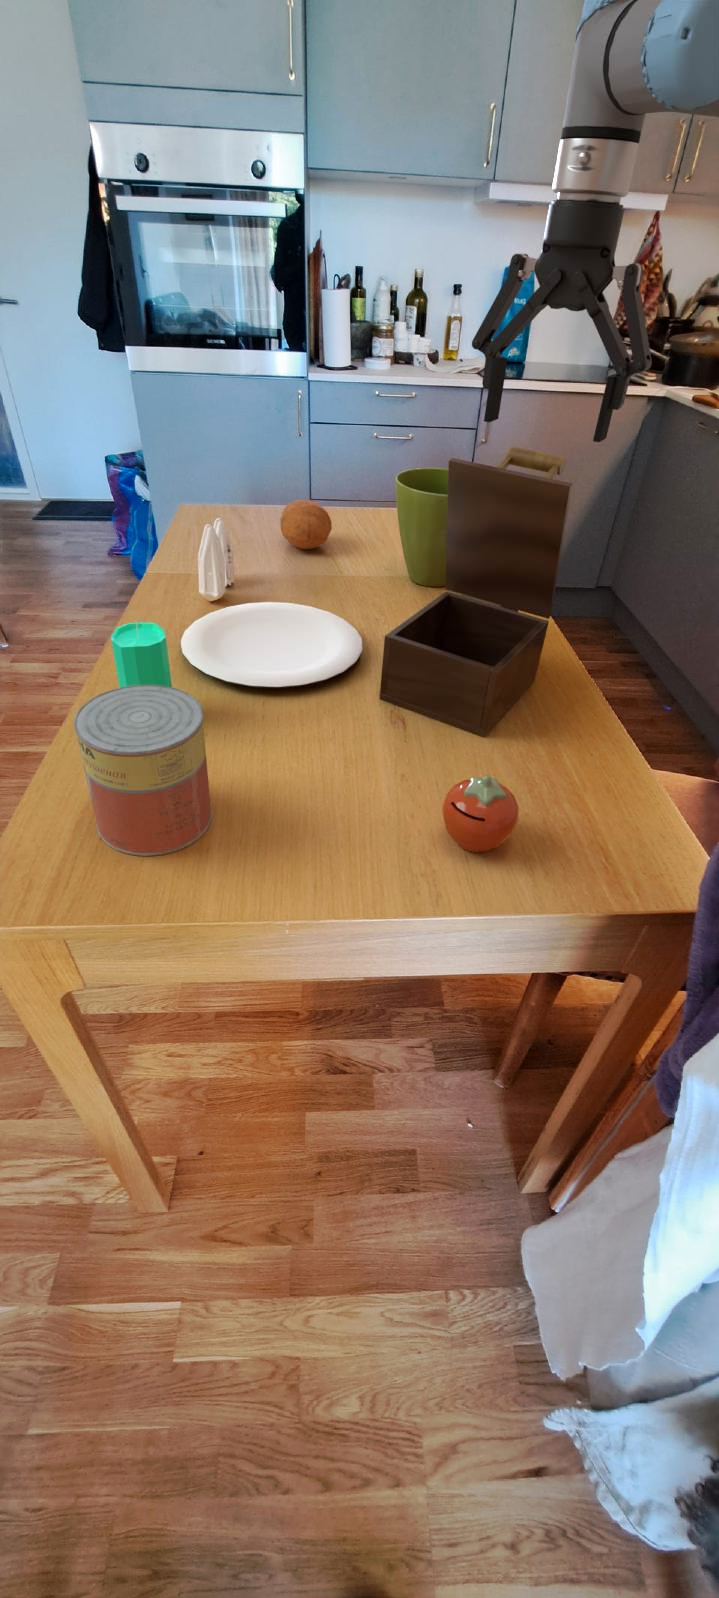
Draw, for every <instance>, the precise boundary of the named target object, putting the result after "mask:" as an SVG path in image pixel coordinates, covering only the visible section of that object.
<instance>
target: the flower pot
mask: <svg viewBox="0 0 719 1598" xmlns="http://www.w3.org/2000/svg"><path fill="white" fill-rule="evenodd" d="M395 497H396V498H395V499H396V514H397V525H398V530H399V538H400V542H401V549H402V553H403V557H404V558H403V559H404V561H405V566H406V570H407V574H408V577H409V579H410V581H412V582H413V583H415V584H418V585H420V586H424V587H432V588H439V587H440V588H441V587H445V579H446V541H447V504H448V468H441V467H418V468H411V469H407V470H403V471H400V472H398V473H397V474H396V476H395Z"/></svg>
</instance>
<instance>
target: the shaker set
mask: <svg viewBox="0 0 719 1598" xmlns="http://www.w3.org/2000/svg"><path fill="white" fill-rule="evenodd" d="M203 528H204V529H203V532H202V536H201V540H200V545H199V549H198V553H197V570H198V571H197V572H198V573H197V575H198V593H199V595H201V596H202V597H203V598H204V599H205V600H207V602H213V601H216V600H219V599H221V598H222V597H223V596H224V594H225V593H226V587H228V585H229V586H232V584H235V561H234V548H233V545H232V541H231V538H230V535H229V532H228V529H227V527H226V524H225V522H224V521H223V520H222V519H221V518H219V517H218V518H216V519H215V520H214V522H213V526H212V525H211V524H210V523H207V524H205V525H204V527H203Z"/></svg>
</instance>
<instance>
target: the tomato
mask: <svg viewBox="0 0 719 1598" xmlns="http://www.w3.org/2000/svg"><path fill="white" fill-rule="evenodd" d="M441 810H442V818H443V821H444V825H445V829H446V831H447V833H448V835H449V836H450V837H451V839H452V840H453V842H455V844H457V845H458V847H460V848H462V849H463V850H465V851H468V852H471V853H484V852H488V851H492V850H494V849H496V848H497V847H499V846H500V845H502V844H503V843H505V842H506V841H507V839H508V838H509V837H510V836H511V835H512V834H513V832H514V831H515V829H516V826H517V825H518V822H519V815H520V814H519V813H520V807H519V804H518V801H517V799H516V796H515V794H513V792H512V791H510V789H508V788H507V786H505V785H503V784H502V783H501V782H499V781H498V780H497V779H496V778H492V777H491V776H490V775H487V774H486V775H483V777H479V776H472V777H470V778H467V779H463V780H461V781H458V782H457V783H455V784H454V785H453V786H451V788H450V789H449V790H448V791H447V793H446V794H445V796H444V799H443V803H442V809H441Z"/></svg>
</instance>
